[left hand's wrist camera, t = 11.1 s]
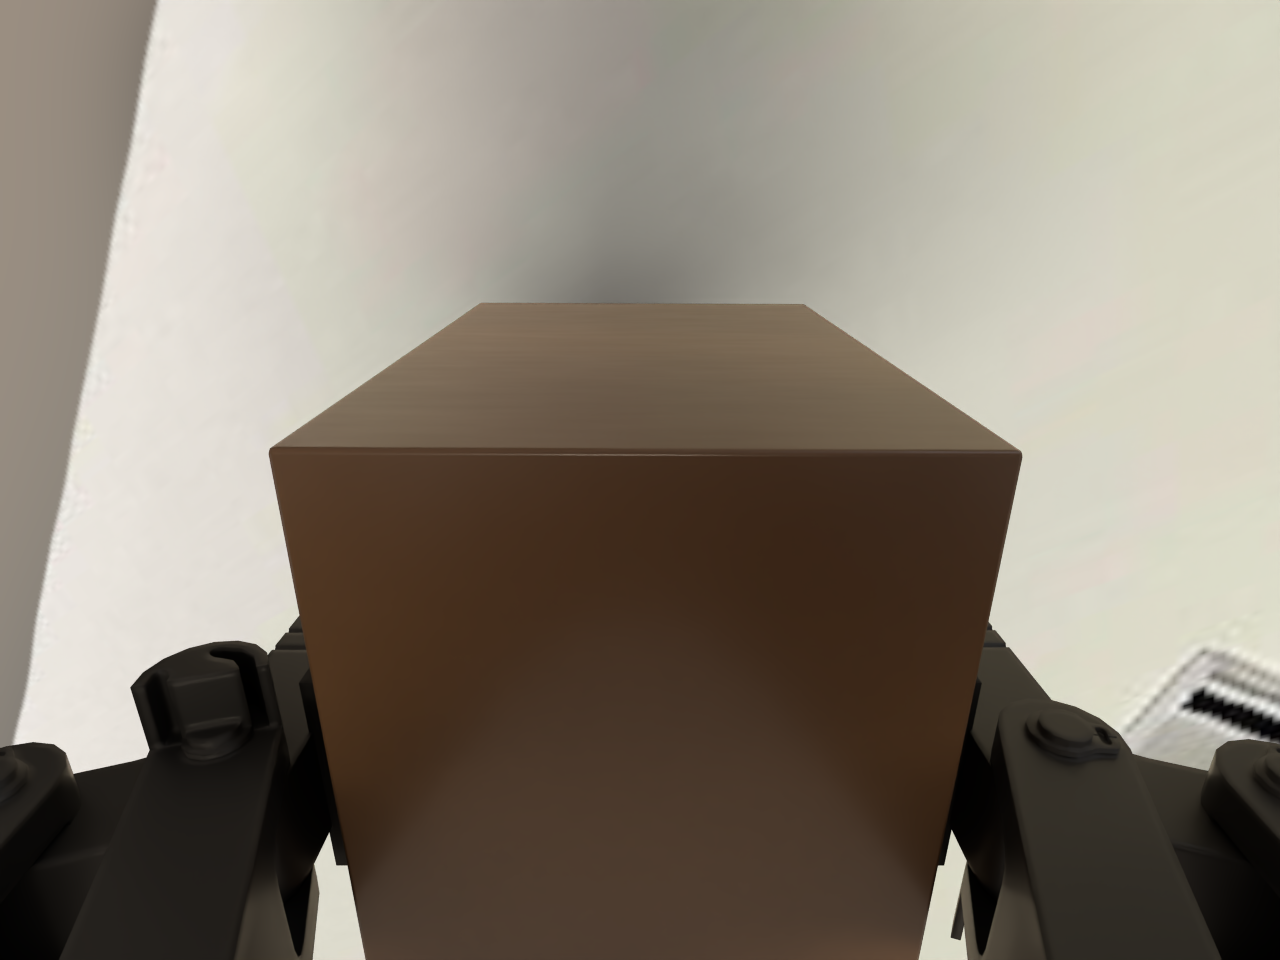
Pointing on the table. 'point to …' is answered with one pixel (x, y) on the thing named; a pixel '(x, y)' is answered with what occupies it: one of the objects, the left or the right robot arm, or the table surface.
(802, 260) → the table surface
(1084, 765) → the left robot arm
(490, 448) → the post
